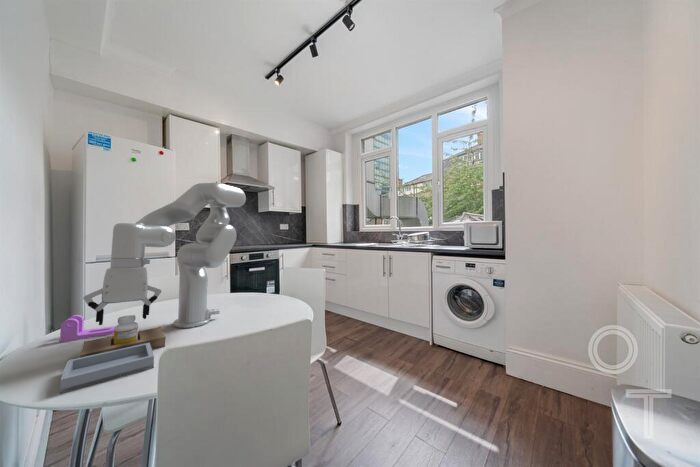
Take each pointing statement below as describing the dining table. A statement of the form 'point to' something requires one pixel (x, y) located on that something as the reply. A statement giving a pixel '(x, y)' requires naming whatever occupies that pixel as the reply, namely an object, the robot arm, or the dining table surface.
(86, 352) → the socket holder
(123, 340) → the supplement bottle
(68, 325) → the bracket
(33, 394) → the dining table surface
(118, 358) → the parts tray
